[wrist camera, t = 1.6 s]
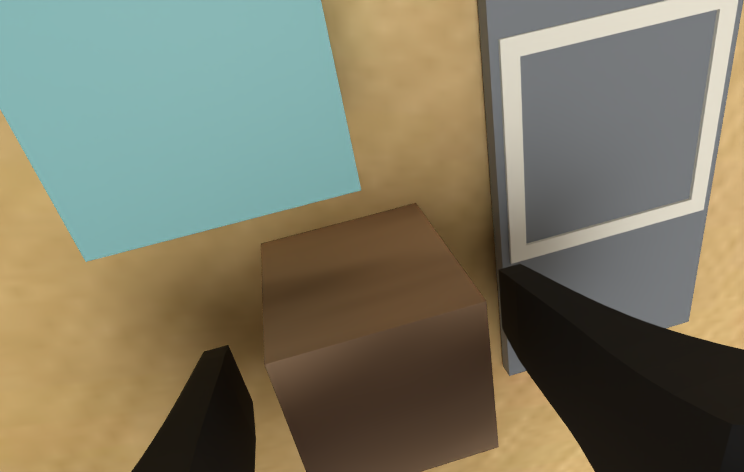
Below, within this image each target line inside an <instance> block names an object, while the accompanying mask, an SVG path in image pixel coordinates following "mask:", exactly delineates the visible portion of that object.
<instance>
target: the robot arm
mask: <svg viewBox="0 0 744 472" xmlns="http://www.w3.org/2000/svg"><path fill="white" fill-rule="evenodd" d="M498 272H499V287H500V302H501V317H502V329H503V331H504V333H505V335H506V337H507V339H508V341H509V343H510V345H511V347H512V348H513V350H514V352H515V354H516V355H517V357H518V359H519V361H520V362H521V364H522V365H523V366H524V368H525V369H526V371H527V372H528V373H529V375H530V376H531V378H532V379H533V380H534V382H535V383H536V385H537V386H538V387H539V389H540V390H541V391H542V393H543V394H544V396H545V397H546V398H547V400H548V401H549V402H550V404H551V405H552V407H553V408H554V409H555V411H556V412H557V413H558V415H559V416H560V418H561V419H562V420H563V422H564V423H565V424H566V426H567V427H568V429H569V430H570V432H571V433H572V435H573V436H574V438H575V439H576V441H577V442H578V444H579V445H580V447H581V449H582V450H583V452H584V454H585V455H586V457H587V459H588V461H589V462H590V464H591V466H592V467H593V469H594V471H595V472H744V350H743V349H738V348H734V347H730V346H726V345H721V344H717V343H714V342H710V341H706V340H703V339H699V338H695V337H692V336H688V335H685V334H681V333H678V332H675V331H671V330H668V329H666V328H663V327H660V326H657V325H654V324H651V323H648V322H645V321H642V320H640V319H637V318H634V317H632V316H629V315H627V314H624V313H622V312H620V311H617V310H615V309H613V308H610V307H608V306H605V305H603V304H601V303H599V302H597V301H594V300H592V299H590V298H588V297H586V296H584V295H582V294H580V293H577V292H575V291H573V290H571V289H569V288H567V287H565V286H563V285H561V284H559V283H557V282H556V281H554V280H552V279H550V278H548V277H546V276H544V275H542V274H540V273H538V272H536V271H534V270H532V269H530V268H528V267H526V266H524V265H522V264H517V265H513V266H510V267H506V268H502V269H499V270H498ZM255 448H256V435H255V422H254V411H253V401H252V399H251V397H250V394H249V392H248V390H247V387H246V385H245V383H244V380H243V378H242V376H241V373H240V371H239V369H238V367H237V364H236V362H235V360H234V357H233V355H232V353H231V350H230V348H229V346H228V345H227V346H223V347H219V348H216V349H212V350H209V351H205V352H204V353H203V354H202V356H201V358H200V360H199V361H198V363H197V365H196V367H195V369H194V370H193V372H192V374H191V376H190V378H189V380H188V382H187V383H186V385H185V387H184V389H183V391H182V392H181V394H180V396H179V398H178V399H177V401H176V403H175V405H174V406H173V408H172V410H171V411H170V413H169V415H168V417H167V418H166V420H165V422H164V423H163V425H162V427H161V428H160V430H159V431H158V433H157V434H156V436H155V438H154V439H153V441H152V442H151V444H150V445H149V447H148V448H147V450H146V451H145V453H144V454H143V456H142V457H141V459H140V460H139V462H138V463H137V465H136V466H135V467H134V469H133V470H132V472H255Z"/></svg>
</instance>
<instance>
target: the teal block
mask: <svg viewBox="0 0 744 472" xmlns="http://www.w3.org/2000/svg"><path fill="white" fill-rule="evenodd" d="M0 109H1V111H2V113H3V115H4V117H5V118H6V120H7V122H8V124H9V126H10V127H11V129H12V131H13V133H14V134H15V136H16V138H17V140H18V142H19V143H20V145H21V147H22V149H23V151H24V152H25V154H26V156H27V158H28V160H29V161H30V163H31V165H32V167H33V168H34V170H35V172H36V174H37V176H38V177H39V179H40V181H41V183H42V185H43V186H44V188H45V190H46V192H47V193H48V195H49V197H50V199H51V201H52V202H53V204H54V206H55V208H56V210H57V211H58V213H59V215H60V217H61V218H62V220H63V222H64V224H65V226H66V227H67V229H68V231H69V233H70V235H71V236H72V238H73V240H74V242H75V244H76V245H77V247H78V249H79V251H80V252H81V254H82V256H83V258H84V260H85V261H86V262H87V261H91V260H95V259H98V258H102V257H106V256H110V255H114V254H118V253H122V252H125V251H129V250H133V249H137V248H141V247H145V246H148V245H152V244H156V243H160V242H164V241H168V240H172V239H175V238H179V237H183V236H187V235H191V234H195V233H199V232H202V231H206V230H210V229H214V228H218V227H222V226H226V225H229V224H233V223H237V222H241V221H245V220H249V219H253V218H256V217H260V216H264V215H268V214H272V213H276V212H280V211H283V210H287V209H291V208H295V207H299V206H303V205H307V204H310V203H314V202H318V201H322V200H326V199H330V198H333V197H337V196H341V195H345V194H349V193H353V192H357V191H360V190H361V187H360V182H359V177H358V172H357V168H356V163H355V158H354V154H353V149H352V144H351V140H350V135H349V130H348V125H347V121H346V116H345V111H344V107H343V102H342V97H341V93H340V88H339V83H338V78H337V74H336V69H335V64H334V60H333V55H332V50H331V45H330V41H329V36H328V31H327V27H326V22H325V17H324V13H323V8H322V3H321V0H0Z"/></svg>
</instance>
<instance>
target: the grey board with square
mask: <svg viewBox="0 0 744 472" xmlns="http://www.w3.org/2000/svg"><path fill="white" fill-rule="evenodd" d="M742 5H743V0H478V14H479V28H480V42H481V57H482V71H483V85H484V99H485V114H486V128H487V142H488V156H489V171H490V185H491V199H492V213H493V227H494V242H495V256H496V270H497V284H498V299H499V313H500V327H501V341H502V356H503V367H504V368H505V370H506V371H507V373H508V374H509V376H511V375H514V374H517V373H521V372H524V371H526V369H525V368H524V366H523V365H522V364H521V362H520V361H519V359H518V357H517V355H516V354H515V352H514V350H513V348H512V347H511V345H510V343H509V341H508V339H507V337H506V335H505V333H504V331H503V329H502V317H501V302H500V287H499V272H498V270H499V269H502V268H506V267H510V266H513V265H517V264H522V265H524V266H526V267H528V268H530V269H532V270H534V271H536V272H538V273H540V274H542V275H544V276H546V277H548V278H550V279H552V280H554V281H556V282H557V283H559V284H561V285H563V286H565V287H567V288H569V289H571V290H573V291H575V292H577V293H580V294H582V295H584V296H586V297H588V298H590V299H592V300H594V301H597V302H599V303H601V304H603V305H605V306H608V307H610V308H613V309H615V310H617V311H620V312H622V313H624V314H627V315H629V316H632V317H634V318H637V319H640V320H642V321H645V322H648V323H651V324H654V325H657V326H660V327H663V328H669V327H672V326H675V325H678V324H682V323H685V322H688V321H689V316H690V310H691V304H692V298H693V293H694V287H695V281H696V275H697V269H698V263H699V257H700V252H701V246H702V240H703V234H704V228H705V222H706V216H707V211H708V205H709V199H710V193H711V187H712V181H713V175H714V170H715V164H716V158H717V152H718V146H719V140H720V134H721V129H722V123H723V117H724V111H725V105H726V99H727V93H728V87H729V82H730V76H731V70H732V64H733V58H734V52H735V46H736V41H737V35H738V29H739V23H740V17H741V11H742Z"/></svg>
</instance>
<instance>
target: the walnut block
mask: <svg viewBox="0 0 744 472" xmlns="http://www.w3.org/2000/svg"><path fill="white" fill-rule="evenodd" d="M261 258H262V296H263V333H264V365H265V368H266V370H267V373H268V375H269V378H270V380H271V383H272V385H273V388H274V391H275V393H276V396H277V398H278V401H279V403H280V406H281V408H282V411H283V413H284V416H285V419H286V421H287V424H288V426H289V429H290V431H291V434H292V436H293V439H294V442H295V444H296V447H297V449H298V452H299V454H300V457H301V459H302V462H303V464H304V467H305V470H306V472H421V471H425V470H428V469H431V468H434V467H437V466H440V465H443V464H447V463H450V462H453V461H456V460H459V459H462V458H466V457H469V456H472V455H475V454H478V453H481V452H485V451H488V450H491V449H494V448H497V447H498V435H497V423H496V411H495V399H494V387H493V375H492V363H491V351H490V339H489V327H488V316H487V304H486V300H485V299H484V297H483V296H482V294H481V293H480V292H479V290H478V289H477V288H476V286H475V285H474V283H473V282H472V281H471V279H470V278H469V276H468V275H467V274H466V272H465V271H464V269H463V268H462V267H461V265H460V264H459V262H458V261H457V260H456V258H455V257H454V255H453V254H452V253H451V251H450V250H449V249H448V247H447V246H446V244H445V243H444V242H443V240H442V239H441V237H440V236H439V235H438V233H437V232H436V230H435V229H434V228H433V226H432V225H431V223H430V222H429V221H428V219H427V218H426V216H425V215H424V214H423V212H422V211H421V209H420V208H419V207H418V205H417V204H416V203H414V204H411V205H407V206H403V207H399V208H395V209H392V210H388V211H384V212H380V213H376V214H373V215H369V216H365V217H361V218H357V219H353V220H350V221H346V222H342V223H338V224H334V225H331V226H327V227H323V228H319V229H315V230H312V231H308V232H304V233H300V234H296V235H293V236H289V237H285V238H281V239H277V240H273V241H270V242H266V243H262V244H261Z"/></svg>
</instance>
